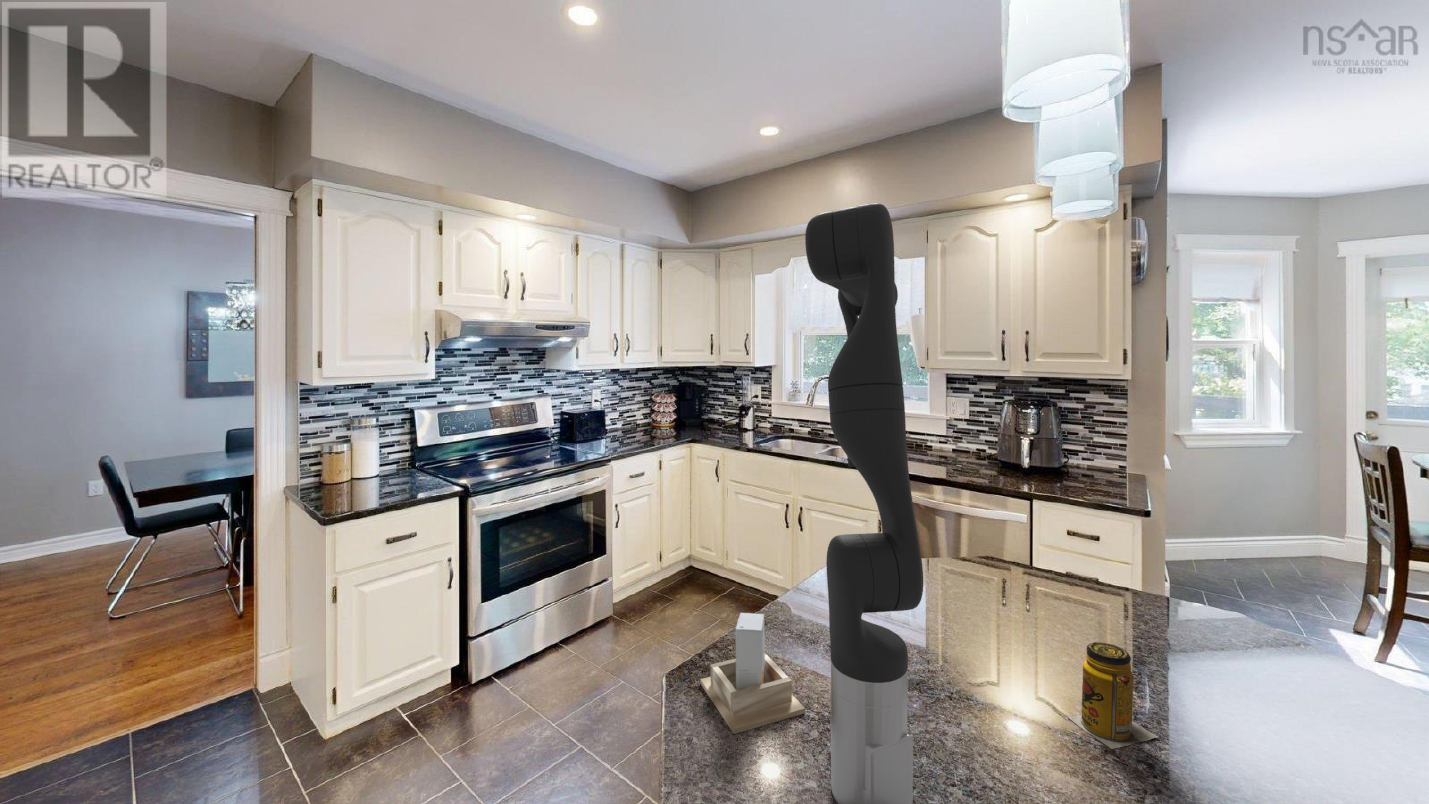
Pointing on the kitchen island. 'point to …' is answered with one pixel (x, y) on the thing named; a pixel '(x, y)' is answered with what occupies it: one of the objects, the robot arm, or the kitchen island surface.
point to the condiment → (1109, 697)
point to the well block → (751, 696)
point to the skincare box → (750, 651)
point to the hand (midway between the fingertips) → (867, 470)
